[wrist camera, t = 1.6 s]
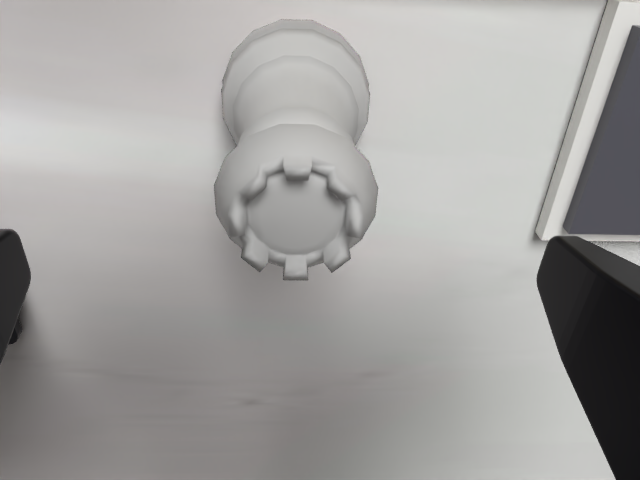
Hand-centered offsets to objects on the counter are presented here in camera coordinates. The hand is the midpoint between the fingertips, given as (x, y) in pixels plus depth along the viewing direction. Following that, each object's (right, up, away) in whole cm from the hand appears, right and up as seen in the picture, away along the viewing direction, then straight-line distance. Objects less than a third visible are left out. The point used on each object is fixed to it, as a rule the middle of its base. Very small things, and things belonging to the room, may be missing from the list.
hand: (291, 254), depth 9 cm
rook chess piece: (0, +5, +8) cm, 9 cm away
